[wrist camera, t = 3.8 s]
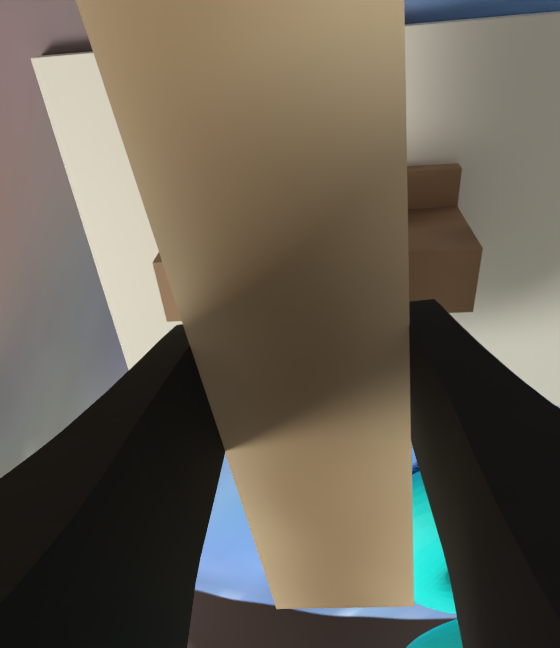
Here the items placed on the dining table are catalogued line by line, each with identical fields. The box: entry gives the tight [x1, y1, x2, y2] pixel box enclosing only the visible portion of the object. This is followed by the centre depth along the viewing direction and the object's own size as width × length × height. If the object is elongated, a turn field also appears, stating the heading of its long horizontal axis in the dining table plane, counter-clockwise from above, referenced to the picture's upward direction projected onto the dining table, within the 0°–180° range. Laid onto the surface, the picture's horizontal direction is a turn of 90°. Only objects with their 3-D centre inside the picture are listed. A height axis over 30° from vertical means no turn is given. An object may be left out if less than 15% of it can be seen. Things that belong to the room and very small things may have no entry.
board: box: [31, 11, 560, 406], centre depth 18 cm, size 18×14×1 cm
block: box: [153, 163, 483, 322], centre depth 16 cm, size 9×4×4 cm, turn 95°
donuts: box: [406, 471, 463, 648], centre depth 22 cm, size 10×10×10 cm
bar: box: [76, 0, 414, 609], centre depth 10 cm, size 4×16×4 cm, turn 9°
